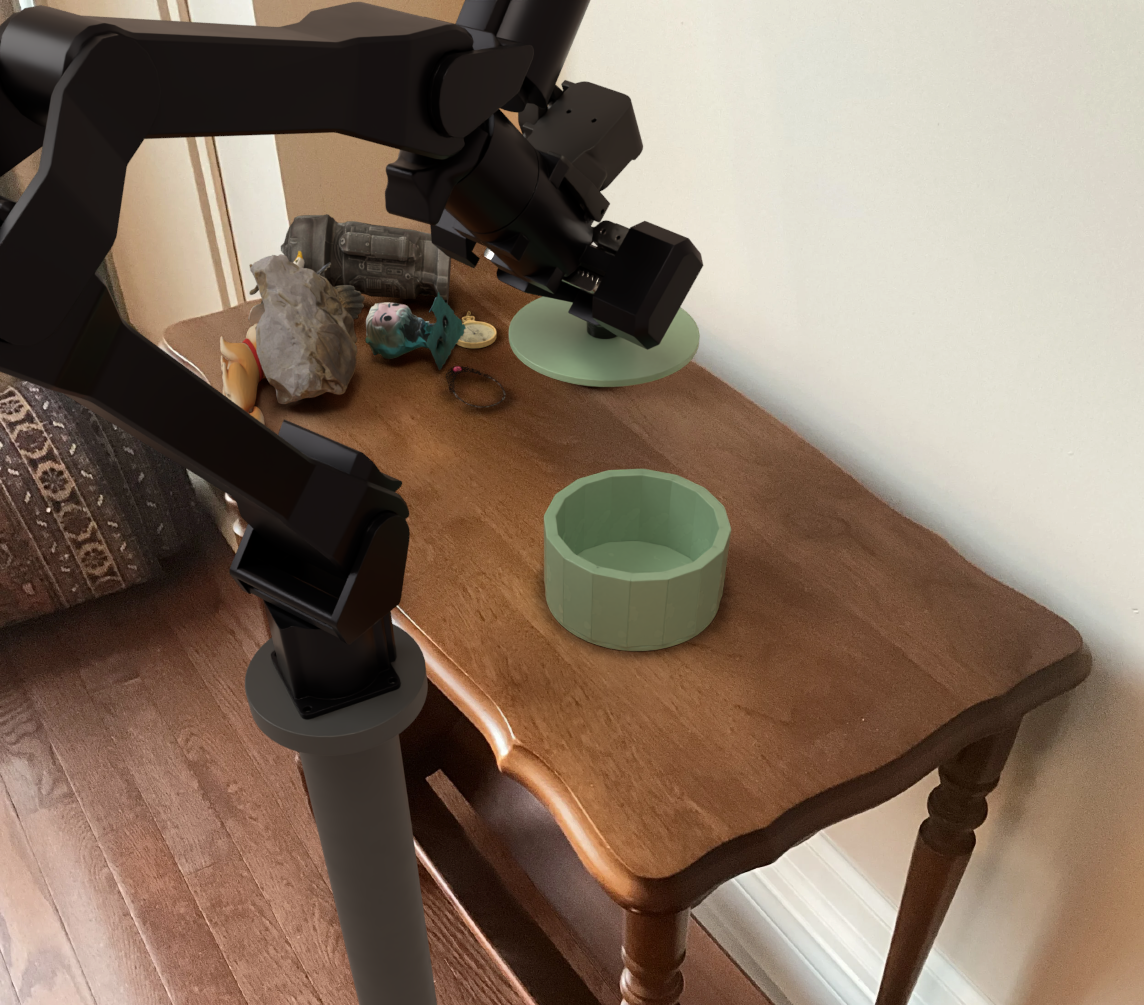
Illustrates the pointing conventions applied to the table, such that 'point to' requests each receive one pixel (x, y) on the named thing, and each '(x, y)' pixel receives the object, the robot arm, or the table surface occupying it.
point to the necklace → (456, 369)
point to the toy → (242, 373)
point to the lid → (595, 347)
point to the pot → (635, 558)
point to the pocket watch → (476, 333)
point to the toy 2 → (370, 257)
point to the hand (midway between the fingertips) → (618, 307)
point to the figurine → (412, 330)
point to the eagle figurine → (346, 292)
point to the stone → (302, 331)
